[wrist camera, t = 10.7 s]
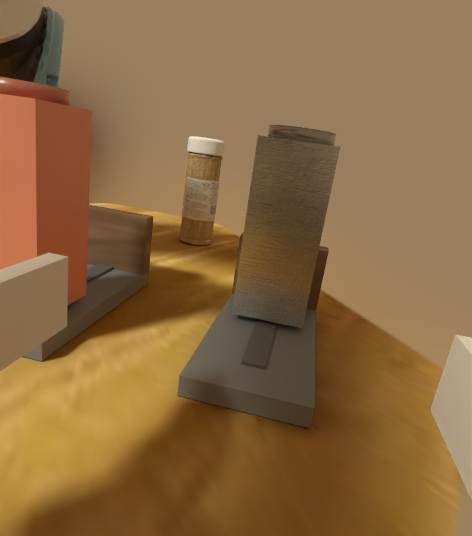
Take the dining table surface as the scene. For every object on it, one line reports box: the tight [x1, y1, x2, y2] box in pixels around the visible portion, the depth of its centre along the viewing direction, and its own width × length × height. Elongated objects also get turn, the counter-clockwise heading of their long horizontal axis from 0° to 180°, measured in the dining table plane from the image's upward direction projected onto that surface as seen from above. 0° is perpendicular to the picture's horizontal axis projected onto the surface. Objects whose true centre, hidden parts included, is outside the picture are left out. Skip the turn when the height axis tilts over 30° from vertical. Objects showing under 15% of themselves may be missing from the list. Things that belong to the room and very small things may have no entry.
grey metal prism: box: [232, 125, 340, 328], centre depth 28 cm, size 5×5×13 cm
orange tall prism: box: [0, 77, 92, 306], centre depth 23 cm, size 5×5×13 cm
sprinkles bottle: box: [179, 137, 225, 245], centre depth 51 cm, size 5×5×13 cm
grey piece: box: [22, 205, 153, 361], centre depth 28 cm, size 14×7×6 cm, turn 168°
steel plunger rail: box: [177, 234, 328, 428], centre depth 26 cm, size 14×7×6 cm, turn 168°
